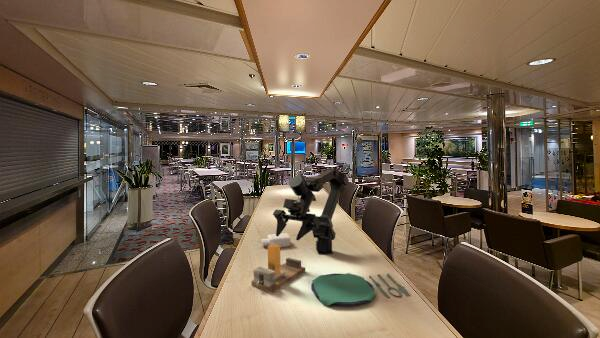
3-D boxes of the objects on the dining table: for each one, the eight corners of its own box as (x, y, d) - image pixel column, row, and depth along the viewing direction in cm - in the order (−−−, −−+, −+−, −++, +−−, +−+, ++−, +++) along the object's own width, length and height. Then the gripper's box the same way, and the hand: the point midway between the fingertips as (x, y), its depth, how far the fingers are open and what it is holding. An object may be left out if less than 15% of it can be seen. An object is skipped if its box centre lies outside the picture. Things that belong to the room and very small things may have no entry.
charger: (256, 244, 135) (286, 241, 139) (259, 250, 126) (290, 247, 130) (256, 234, 135) (286, 232, 139) (258, 240, 126) (290, 237, 130)
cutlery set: (306, 280, 95) (306, 273, 95) (387, 275, 99) (387, 269, 99) (318, 313, 75) (318, 305, 75) (418, 305, 80) (419, 297, 80)
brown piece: (286, 266, 107) (285, 252, 107) (305, 271, 102) (305, 256, 102) (251, 285, 91) (251, 268, 91) (272, 292, 86) (271, 275, 86)
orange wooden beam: (273, 272, 98) (273, 242, 97) (284, 275, 95) (284, 244, 94) (251, 284, 88) (250, 251, 88) (262, 288, 86) (261, 254, 85)
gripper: (275, 189, 108) (256, 222, 100) (315, 192, 98) (298, 229, 89) (287, 205, 115) (270, 238, 107) (326, 210, 105) (311, 246, 96)
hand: (286, 237), depth 100 cm, fingers open, 9 cm apart
